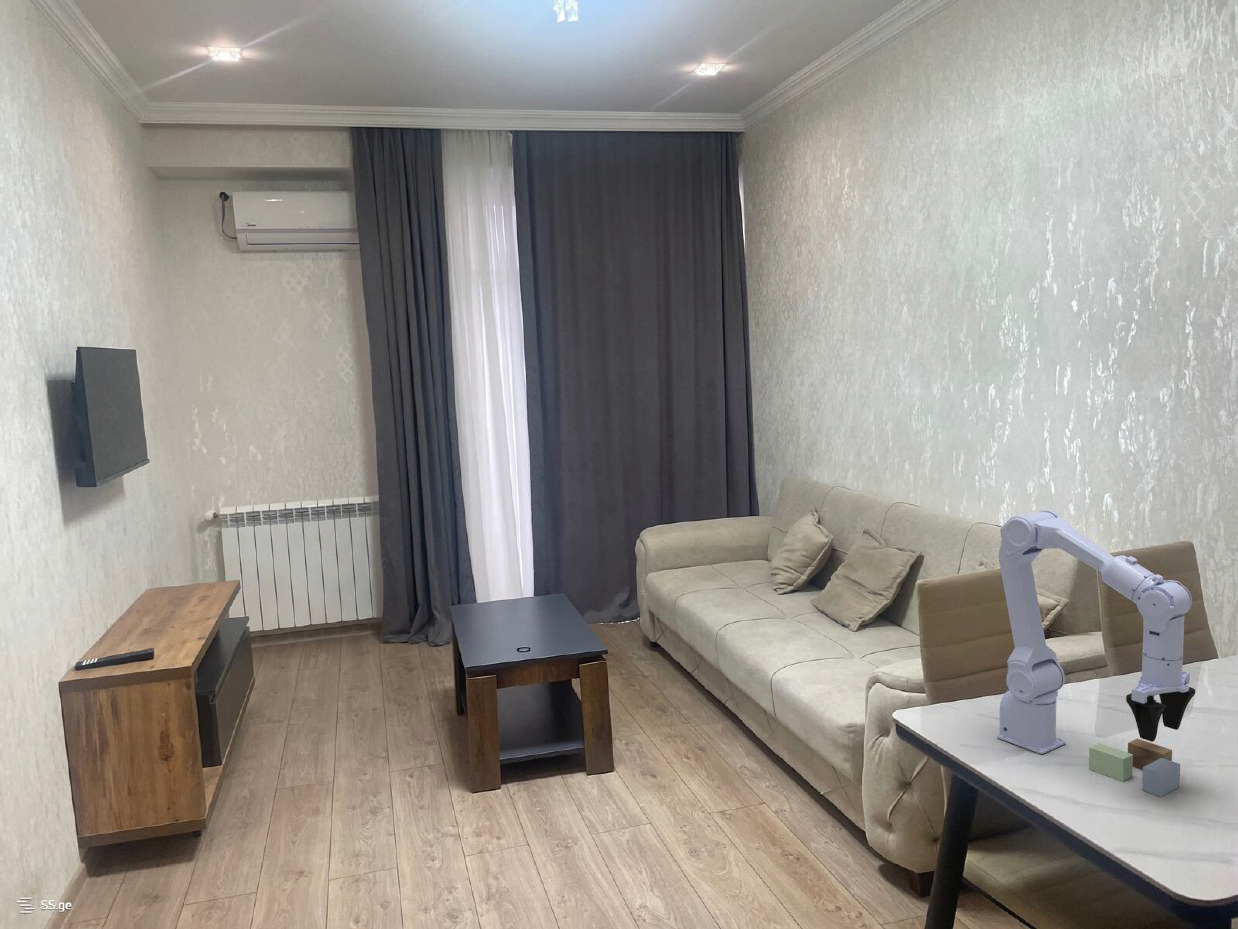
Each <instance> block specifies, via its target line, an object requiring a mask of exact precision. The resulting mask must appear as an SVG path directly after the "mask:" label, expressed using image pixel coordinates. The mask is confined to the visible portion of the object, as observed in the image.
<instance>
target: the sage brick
mask: <svg viewBox="0 0 1238 929" xmlns="http://www.w3.org/2000/svg"><path fill="white" fill-rule="evenodd" d="M1088 748H1089V750H1088V751H1089V752H1088V770H1091V771H1093V772H1096V773H1099V774H1101V775H1104V776H1107V777H1110V778H1113V779H1114V780H1118V781H1121V782H1124V781H1127V780H1129V779H1130V778H1133V769H1134V768H1133V767H1134V766H1133V754H1130V753H1128V751H1127V752H1126V751H1124V750H1121V749H1118V748H1114V747H1112V746H1109V745H1107V744H1103V743H1101V742H1098V743H1096V744H1093V745H1091V746H1089V747H1088Z"/></svg>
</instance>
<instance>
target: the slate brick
mask: <svg viewBox="0 0 1238 929" xmlns="http://www.w3.org/2000/svg"><path fill="white" fill-rule="evenodd" d="M1141 783H1142V786H1141V787H1142V788H1141V790H1142V791H1144V792H1147V793H1149V794H1152V795H1154V796H1157V797H1160V798H1161V797H1164V796H1165V795H1167V794H1169V793H1171V792H1173V791H1174V790H1176V789H1179V787H1180V785H1181V763H1179V762H1174V761H1173V760H1172V761H1170V760H1167V759H1164V758H1160V759H1158V760H1156V761H1154V762H1152V763H1151V764H1149V765H1147V766H1145V767H1143V769H1142V782H1141Z"/></svg>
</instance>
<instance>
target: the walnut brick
mask: <svg viewBox="0 0 1238 929" xmlns="http://www.w3.org/2000/svg"><path fill="white" fill-rule="evenodd" d="M1127 753H1130V754H1133V767H1135V768H1137V769H1141V770H1143V767H1145V766H1147V765H1149V764H1151V763H1152V762H1154V761H1156V760H1158V759H1160V758H1164V759H1167V760H1170V761H1173V749H1171V748H1168V747H1164V746H1162V745H1159V744H1155V743H1153V742H1151V741H1148V740H1144V739H1143V740H1142V739H1141V738H1135V739H1133V740H1130V741H1129V742H1127Z"/></svg>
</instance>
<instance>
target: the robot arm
mask: <svg viewBox="0 0 1238 929" xmlns="http://www.w3.org/2000/svg"><path fill="white" fill-rule="evenodd" d="M999 532H1000V537H1001V542H1000V547H999V551H998V561H999V562H998V563H999V568H1000V573H1001V579H1002V584H1003V590H1004V595H1005V600H1006V607H1007V612H1008V618H1009V623H1010V629H1011V634H1012V640H1013V644H1014V649H1013V651H1012V652H1011V654H1010V656H1009V657H1008V659H1007V662H1006V663H1007V674H1006V676H1005V677H1006V678H1005V682H1006V686H1007V688H1008V690H1007V691H1006V692H1005V693H1004V694H1003V696H1002V697H1001V700H1000V703H999V734H997V735H996V737H997V739H999V740H1002V741H1004V742H1007V743H1011V744H1014V745H1016V746H1018V747H1021V748H1024V749H1026V750H1029V751H1032V752H1034V753H1037V754H1039V755H1043V754H1046V753H1048V752H1050V751H1052V750H1054V749H1057V748H1059V747H1061V746H1064V745H1066V744H1067V742H1066V740H1065V739H1061V738H1059V737H1057V697H1058V696H1059V695H1058V694H1059V693H1058V692H1059V690H1061V689H1062V688H1063V687H1064V686H1065V681H1066V675H1065V672H1064V670H1063V667H1062V666H1061V665H1060V662H1059V661H1058V658H1057V653H1056V651H1054V650H1053V649H1052V648H1051V647H1049V646H1048V645H1047V643H1046V642H1047V641H1046V638H1045V631H1044V627H1043V626H1044V625H1043V621H1042V615H1041V609H1040V603H1039V599H1038V595H1037V594H1038V593H1037V587H1036V582H1035V577H1034V571H1033V566H1032V565H1033V564H1032V563H1033V561H1034V560H1035V559H1036V558H1037V557H1038V555H1040V553H1041V552H1042V551H1044V550H1045V549H1048V550H1049V549H1051V550H1052V549H1056V550H1057V549H1060V550H1062V551H1064V552H1065V553H1067V554H1068V555H1071V556H1072V557H1074V558H1076V559H1077V560H1079V561H1081V562H1083V563H1084V564H1086V565H1087V566H1089V567H1091V568H1093V569H1095V571H1098V572H1099V573H1100V575H1101V576H1100V577H1101V580H1102V582H1103V583H1104V584H1106V585H1107V586H1108V587H1110V588H1112V589H1113V590H1114V591H1116V592H1118V594H1120V595H1123V597H1125V598H1126V599H1128V600H1130V601H1131V602H1132V603H1134V604H1136V607H1137V609H1138V612H1139V613H1140V614H1141V616H1142V619H1143V620H1142V626H1143V628H1142V629H1143V631H1142V632H1143V635H1142V654H1141V655H1142V656H1141V657H1142V659H1141V676H1140V678H1139V679H1138V682H1137V684H1136V685H1135V687H1133V688H1132V689H1131V693H1129V694H1126V696H1125V697H1126V698H1125V701H1126V704H1127V705H1128V706H1129V708H1130V710H1131V712H1132V714H1133V716H1134V719H1135V723H1136V728H1137V732H1138V735H1139V739H1141V740H1142V739H1143V740H1144V741H1147V742H1150V743H1153V742H1155V741H1156V739H1157V734H1158V728H1159V723H1160V720H1161V717H1162V723H1163V726H1164V727H1165V728H1169V729H1172V730H1175V731H1177V730H1179V728H1180V726H1181V724H1182V720H1183V718H1184V714H1185V712H1186V709H1187V708H1188V705H1189V704H1190V701H1191V700H1192V698H1193V697H1194V696H1195V695H1196V689H1195V688H1194V687H1192V686H1189V684H1190V675H1191V673H1190V672H1187V671H1183V666H1184V665H1183V664H1184V663H1183V662H1184V661H1183V660H1184V659H1183V658H1184V639H1185V636H1184V635H1185V614H1187V613H1188V612H1190V610H1191V608H1192V605H1193V598H1192V594H1191V592H1190V591H1189V589H1188V588H1187V587H1186V586H1184V585H1183V584H1182V582H1180V581H1178V580H1170V579H1169V580H1168V579H1167V580H1165V579H1164V576H1162V575H1160V573H1159V574H1155V573H1153V572H1152V571H1150V570H1148V569H1147V568H1145V567H1143V566H1142V565H1141V564H1138V559H1137V558H1135V557H1133V556H1126V555H1117V556H1113V555H1112V554H1111V553H1109V552H1108V551H1106V550H1105V549H1104V548H1102V547H1100V546H1099V545H1098V544H1096V543H1095V542H1094V541H1092V540H1091V539H1089V538H1088V537H1086V535H1084V534H1082V533H1081V532H1080V531H1079V530H1077V529H1076V528H1074V527H1073V526H1072V525H1071V524H1070V522H1069V521H1068V520H1067V519H1066V518H1064V517H1061V516H1059V515H1058V514H1057V513H1055V512H1054V511H1051V510H1045V509H1044V510H1041V511H1038V512H1034V513H1029V514H1024V515H1016V516H1012V517H1009V519H1008V520H1007V521H1006V522H1005V523H1004V524H1003V525H1002V526H1001V527H1000V529H999ZM1157 695H1158V696H1159V700H1160V702H1157V699H1155V696H1157Z"/></svg>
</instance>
